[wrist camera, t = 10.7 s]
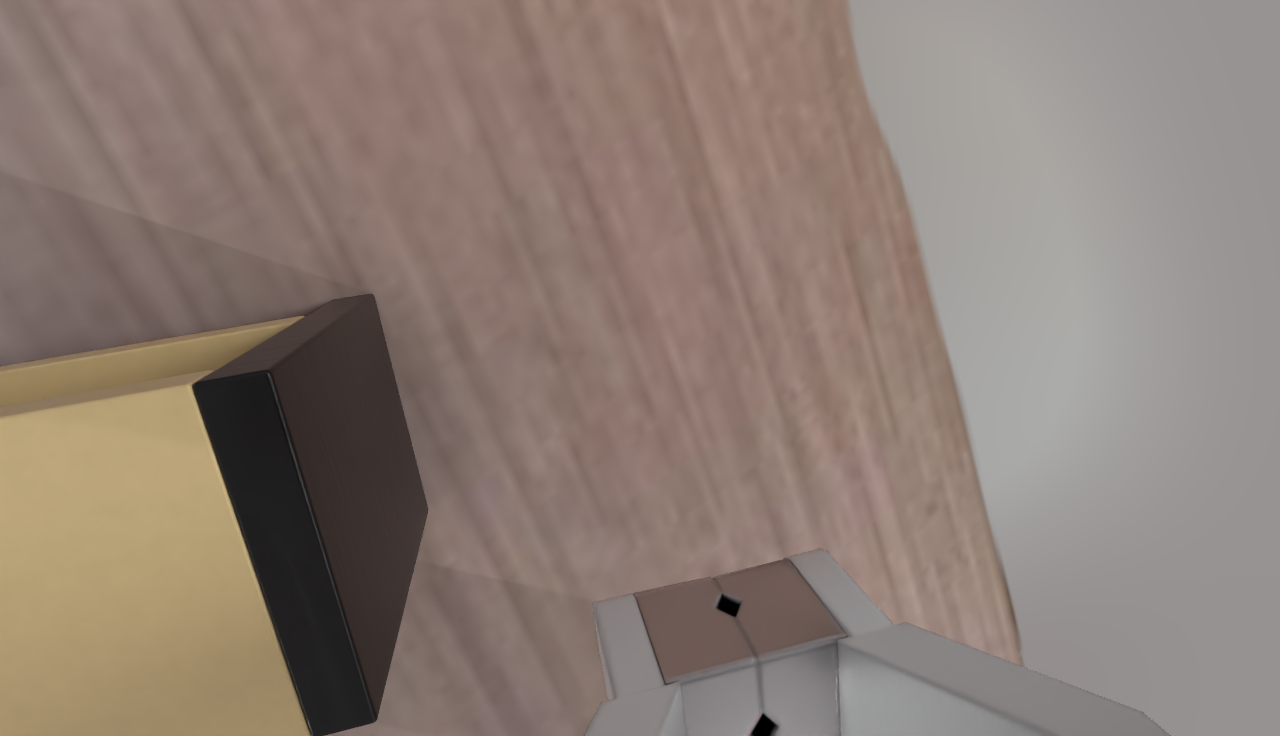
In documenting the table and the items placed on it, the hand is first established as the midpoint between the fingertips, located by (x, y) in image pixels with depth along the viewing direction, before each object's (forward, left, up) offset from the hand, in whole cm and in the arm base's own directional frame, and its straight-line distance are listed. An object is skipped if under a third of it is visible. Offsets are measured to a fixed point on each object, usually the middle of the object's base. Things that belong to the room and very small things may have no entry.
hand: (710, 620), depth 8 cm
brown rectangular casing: (0, -12, -13) cm, 18 cm away
